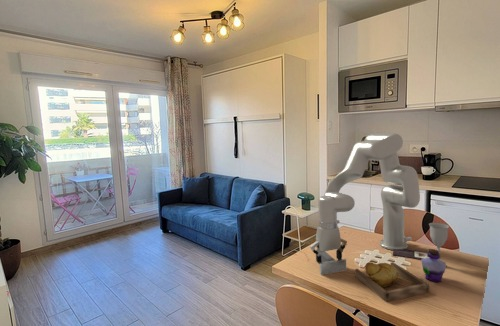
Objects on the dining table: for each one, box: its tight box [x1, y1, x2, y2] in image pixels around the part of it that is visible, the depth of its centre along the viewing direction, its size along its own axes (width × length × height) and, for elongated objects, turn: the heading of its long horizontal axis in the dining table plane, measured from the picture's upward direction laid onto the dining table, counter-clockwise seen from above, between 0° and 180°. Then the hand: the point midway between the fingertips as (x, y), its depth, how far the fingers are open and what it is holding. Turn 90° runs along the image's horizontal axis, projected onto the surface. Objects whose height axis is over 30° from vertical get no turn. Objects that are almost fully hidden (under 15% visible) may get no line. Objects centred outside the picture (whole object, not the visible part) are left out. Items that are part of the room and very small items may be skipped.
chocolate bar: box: [392, 248, 429, 261], centre depth 130 cm, size 9×1×18 cm
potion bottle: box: [420, 248, 447, 284], centre depth 108 cm, size 9×9×12 cm
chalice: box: [428, 222, 450, 261], centre depth 118 cm, size 7×7×18 cm
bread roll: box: [364, 261, 399, 288], centre depth 108 cm, size 13×10×8 cm
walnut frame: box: [354, 262, 430, 303], centre depth 107 cm, size 18×18×3 cm
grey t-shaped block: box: [319, 251, 347, 276], centre depth 124 cm, size 12×13×5 cm
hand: (329, 261), depth 122 cm, fingers open, 9 cm apart
